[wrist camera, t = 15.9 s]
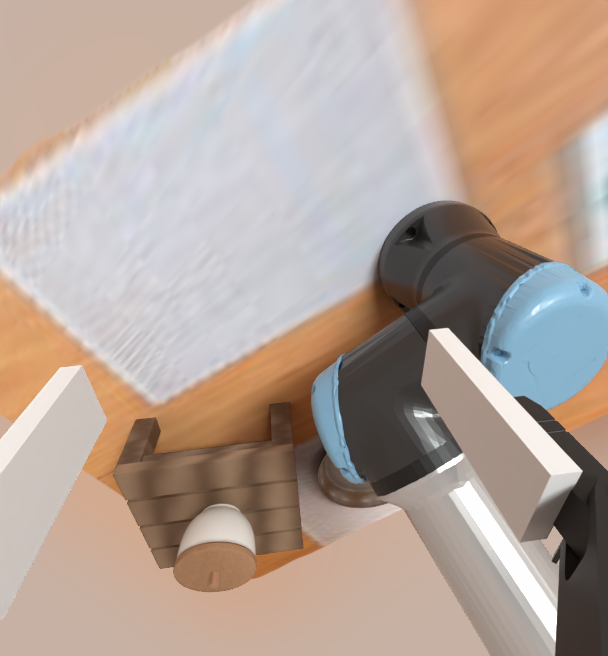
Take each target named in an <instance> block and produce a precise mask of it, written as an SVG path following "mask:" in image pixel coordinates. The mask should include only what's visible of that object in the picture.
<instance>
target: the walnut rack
mask: <svg viewBox="0 0 608 656" xmlns="http://www.w3.org/2000/svg"><path fill="white" fill-rule="evenodd" d="M270 409H271V436H272V440H271V441H262V442H254V443H246V444H237V445H229V446H221V447H213V448H204V449H196V450H188V451H179V452H171V453H163V454H155V455H153V453H154V450H155V447H156V444H157V440H158V437H159V434H160V428H159V425H158V423H157V420H156V417H155V418H147V419H138V420H136V421H135V423H134V426H133V428H132V430H131V433H130V435H129V437H128V440H127V442H126V444H125V447H124V449H123V451H122V454H121V456H120V459H119V461H118V463H117V466H116V468H115V470H114V473H113V476H114V478H115V480H116V482H117V484H118V486H119V488H120V490H121V492H122V494H123V496H124V498H125V500H128V502H127V504H128V506H129V508H130V510H131V512H132V514H133V516H134V518H135V520H136V522H137V524H138V526H140V530H141V532H142V534H143V536H144V538H145V540H146V542H147V544H148V546H149V548H151V552H152V554H153V556H154V558H155V560H156V562H157V564H158V566H159V568H160V569H162V568H169V567H174V565H175V561H176V559H177V554H178V550H179V546H180V543H181V540H182V537H183V535H184V532H185V530H186V529H187V527H188V525H189V524H190V522H191V521H192V520H193V519H194V518H195V517H196V516H197V515H199V514H200V513H201V512H202V511H203V510H204V509H205V508H207V507H208V506H211V505H214V504H230V505H233V506H235V507H237V508H238V509H239V510H240V511H241V513H242V514H243V515H244V516H245V517H246V518H247V519H248V521H249V522H250V524H251V527H252V529H253V533H254V537H255V548H256V555H260V554H267V553H274V552H281V551H288V550H295V549H302V548H303V539H302V529H301V518H300V508H299V497H298V487H297V477H296V466H295V456H294V446H293V436H292V427H291V417H290V408H289V402H287V403H279V404H270Z"/></svg>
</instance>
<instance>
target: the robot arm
mask: <svg viewBox="0 0 608 656" xmlns="http://www.w3.org/2000/svg"><path fill="white" fill-rule="evenodd" d="M379 277H380V281H381V285H382V287H383V289H384V291H385V293H386V294H387V295H388V297H389V298H390V299H391V301H392V302H393V303H394V304H395V305H396V306H397V307H398V308H400V309H401V310H402V311H404V312H406V313H405V314H403V315H402V316H400V317H399V318H397V319H396V320H395V321H393V322H392V323H390V324H389V325H387V326H386V327H384V328H383V329H382V330H380V331H379V332H377V333H376V334H374V335H373V336H371V337H370V338H368V339H367V340H366V341H364V342H363V343H361V344H360V345H358V346H357V347H355V348H354V349H353V350H351V351H350V352H348V353H344V354H342V355H340V356H339V358H338V359H337V361H336V362H334V363H333V364H332V365H331V366H329V367H328V368H327V369H325V370H324V371H323V372H321V373H320V374H319V375H318V376H317V378H316V379H315V381H314V383H313V386H312V391H311V407H312V414H313V418H314V422H315V425H316V429H317V431H318V434H319V437H320V439H321V442H322V444H323V446H324V448H325V450H326V452H327V454H328V456H329V458H330V460H331V461H332V463H333V464H334V466H335V467H336V468H339V469H340V472H341V474H342V476H343V477H344V478H345V479H347V480H348V481H349V482H351V483H355V484H358V483H361V484H364V483H366V482H368V481H369V483H370V485H371V486H372V488H373V490H374V492H375V493H376V495H377V497H378V498H379V499H380V500H381V501H384V502H387V503H390V504H393V505H396V506H399V507H400V508H402V509H403V510H404V511H405V512H406V514H407V516H408V517H409V519H410V521H411V523H412V524H413V526H414V528H415V529H416V531H417V533H418V534H419V536H420V538H421V539H422V541H423V543H424V544H425V546H426V548H427V550H428V551H429V553H430V555H431V556H432V558H433V560H434V561H435V563H436V565H437V566H438V568H439V570H440V571H441V573H442V575H443V576H444V578H445V580H446V582H447V583H448V585H449V587H450V588H451V590H452V592H453V593H454V595H455V597H456V598H457V600H458V602H459V603H460V605H461V607H462V609H463V610H464V612H465V613H466V615H467V617H468V618H469V620H470V622H471V624H472V625H473V627H474V629H475V630H476V632H477V634H478V635H479V637H480V639H481V640H482V642H483V644H484V646H485V647H486V649H487V650H488V652H489V654H490V656H608V471H607V470H606V469H605V468H604V467H603V466H602V465H601V464H600V463H599V462H598V461H597V460H596V459H595V458H594V457H593V456H592V455H591V454H590V453H589V452H588V451H587V450H586V449H585V448H584V447H583V446H582V445H581V444H580V443H579V442H578V441H577V440H576V439H575V438H574V437H573V436H572V435H571V434H570V433H569V432H566V431H565V428H564V427H563V426H562V425H561V424H560V423H559V422H558V421H555V419H554V418H553V417H552V416H551V415H550V414H549V413H548V412H547V411H546V410H549V409H552V408H554V407H556V406H558V405H560V404H562V403H564V402H565V401H567V400H569V399H570V398H572V397H573V396H574V395H576V394H577V393H578V392H579V391H581V390H582V389H583V388H584V387H585V386H586V385H587V384H588V383H589V382H590V381H591V380H592V379H593V378H594V376H595V375H596V374H597V373H598V371H599V370H600V368H601V367H602V366H603V364H604V363H605V361H606V357H607V355H608V294H607V293H606V291H605V290H604V289H603V288H602V287H600V286H599V285H598V284H596V283H595V282H593V281H591V280H589V279H588V278H586V277H584V276H583V275H581V274H579V273H577V272H576V271H575V270H574V269H573V268H571V267H570V266H568V265H566V264H564V263H560V262H555V261H553V260H550V259H548V258H546V257H543V256H541V255H539V254H537V253H534V252H532V251H530V250H528V249H525V248H523V247H521V246H518V245H516V244H514V243H512V242H509V241H507V240H505V239H502V238H501V237H500V236H499V235H498V233H497V231H496V229H495V227H494V225H493V224H492V222H491V221H490V219H489V218H488V217H487V216H486V215H485V214H483V213H482V212H481V211H479V210H478V209H476V208H474V207H471V206H469V205H466V204H463V203H460V202H456V201H438V202H433V203H429V204H426V205H424V206H421V207H419V208H417V209H416V210H414V211H412V212H411V213H409V214H408V215H407V216H405V217H404V218H403V219H402V220H401V221H400V222H399V223H398V224H397V225H396V226H395V227H394V228H393V230H392V231H391V233H390V234H389V236H388V237H387V239H386V241H385V243H384V245H383V248H382V251H381V254H380V259H379ZM106 422H107V419H106V417H105V414H104V412H103V410H102V408H101V406H100V403H99V401H98V399H97V397H96V395H95V393H94V390H93V388H92V386H91V384H90V382H89V379H88V377H87V375H86V373H85V371H84V368H83V366H82V365H80V366H71V367H61V368H59V370H58V371H57V372H56V373H55V374H54V376H53V377H52V378H51V379H50V380H49V382H48V383H47V384H46V385H45V386H44V388H43V389H42V390H41V391H40V392H39V394H38V395H37V396H36V397H35V398H34V400H33V401H32V402H31V403H30V404H29V406H28V407H27V408H26V409H25V410H24V412H23V413H22V414H21V415H20V416H19V418H18V419H17V420H16V421H15V422H14V424H13V425H12V426H11V427H10V429H9V430H8V431H7V432H6V433H5V434H4V436H3V437H2V438H1V439H0V619H3V618H4V616H5V615H6V613H7V611H8V609H9V607H10V605H11V603H12V601H13V600H14V598H15V595H16V594H17V592H18V590H19V588H20V586H21V584H22V582H23V580H24V579H25V577H26V575H27V573H28V571H29V569H30V567H31V565H32V563H33V561H34V559H35V558H36V556H37V554H38V552H39V550H40V548H41V546H42V544H43V542H44V540H45V538H46V536H47V535H48V533H49V531H50V529H51V527H52V524H53V523H54V521H55V519H56V517H57V515H58V514H59V512H60V510H61V508H62V506H63V504H64V502H65V500H66V498H67V496H68V494H69V492H70V490H71V489H72V487H73V485H74V483H75V481H76V479H77V477H78V475H79V473H80V471H81V470H82V468H83V466H84V464H85V462H86V460H87V458H88V456H89V454H90V452H91V450H92V449H93V447H94V445H95V443H96V441H97V439H98V437H99V435H100V433H101V431H102V429H103V427H104V426H105V424H106ZM553 526H555V527H556V529H557V530H558V531H559V533H560V534H561V535H562V537H563V540H562V542H561V543H560V545H559V547H558V549H557V550H556V552H555V554H554V556H553V557H552V555H551V554H550V553H549V551H548V550H547V549H546V547H545V546H544V544H543V543H542V542H541V539H547V537H548V535H549V533H550V532H551V530H552V528H553ZM559 559H560V562H559V565H558V564H557V562H558V560H559Z"/></svg>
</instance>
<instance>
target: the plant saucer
mask: <svg viewBox="0 0 608 656" xmlns="http://www.w3.org/2000/svg"><path fill="white" fill-rule="evenodd" d="M317 482H318V486H319V488H320V490H321V492H322V493H323V494H324V495H325V496H326V497H327V498H328V499H329V500H331V501H332V502H334V503H336V504H339V505H342V506H345V507H351V508H369V507H376V506H380V505H384V504H387V502H384V501H381V500H380V499H379V498H378V497H377V495H376V493H375V492H374V490H373V488H372V486H371V485H370V483H369V481H368V482H366V483H364V484H361V483H358V484H355V483H351V482H349V481H348V480H347V479H345V478H344V477H343V476H342V474H341V472H340V469H339V468H336V467H335V466H334V464H333V463H332V461H331V460H330V458H329V456H328V454H327V453H326V455H325V456H324V458H323V460H322V462H321V464H320V466H319V469H318V473H317Z"/></svg>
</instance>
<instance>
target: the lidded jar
mask: <svg viewBox="0 0 608 656" xmlns="http://www.w3.org/2000/svg"><path fill="white" fill-rule="evenodd" d="M173 571H174V572H173V573H174V577H175V579H176V580H177V581H178V582H179V583H180V584H181V585H183V586H184V587H187V588H189V589H192V590H196V591H202V592H219V591H226V590H230V589H233V588H236V587H239V586H241V585H243V584H245V583H246V582H248V581H249V580H250V579H251V578H252V577H253V575H254V574H255V572H256V548H255V537H254V533H253V529H252V527H251V524H250V522H249V521H248V519H247V518H246V517H245V516H244V515H243V514H242V513H241V511H240V510H239V509H238V508H237V507H235V506H233V505H230V504H214V505H211V506H208V507H207V508H205V509H204V510H203V511H202V512H201V513H200V514H199V515H197V516H196V517H195V518H194V519H193V520H192V521H191V522H190V524H189V525H188V527H187V529H186V530H185V532H184V535H183V537H182V540H181V543H180V546H179V550H178V554H177V559H176V561H175V565H174V570H173Z"/></svg>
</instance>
